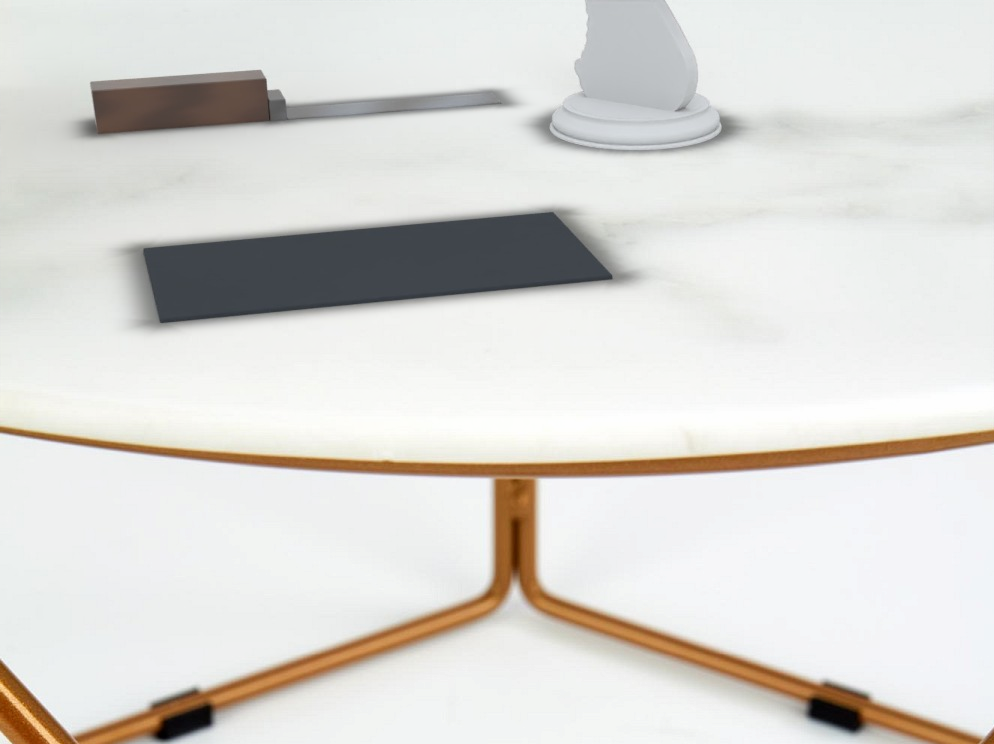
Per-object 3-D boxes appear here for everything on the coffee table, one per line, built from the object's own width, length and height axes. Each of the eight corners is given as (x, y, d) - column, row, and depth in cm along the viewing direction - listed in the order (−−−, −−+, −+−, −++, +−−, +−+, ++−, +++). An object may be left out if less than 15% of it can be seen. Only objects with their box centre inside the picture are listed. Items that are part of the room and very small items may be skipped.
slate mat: (161, 332, 73) (159, 318, 72) (144, 260, 81) (143, 247, 80) (612, 288, 77) (612, 275, 76) (553, 223, 85) (553, 211, 84)
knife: (98, 141, 99) (91, 91, 97) (96, 130, 101) (89, 80, 100) (501, 110, 104) (501, 62, 102) (491, 100, 106) (490, 52, 104)
